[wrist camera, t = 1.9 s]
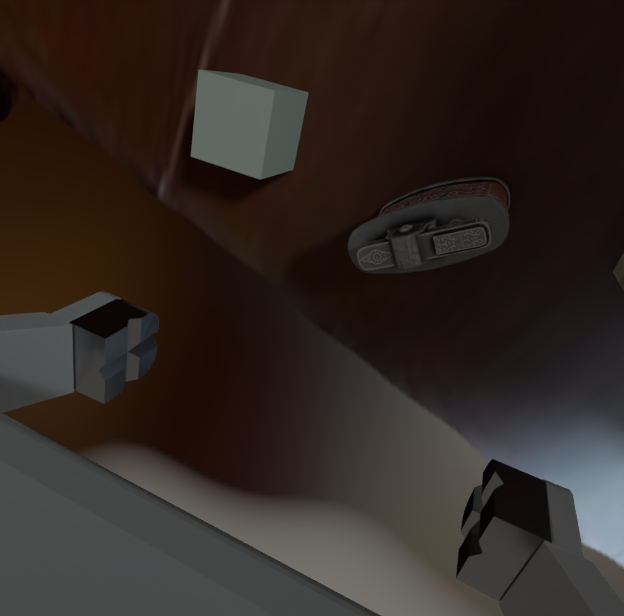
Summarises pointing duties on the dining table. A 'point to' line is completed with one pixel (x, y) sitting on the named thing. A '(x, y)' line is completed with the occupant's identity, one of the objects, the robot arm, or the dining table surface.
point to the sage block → (247, 123)
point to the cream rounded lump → (620, 271)
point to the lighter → (434, 227)
